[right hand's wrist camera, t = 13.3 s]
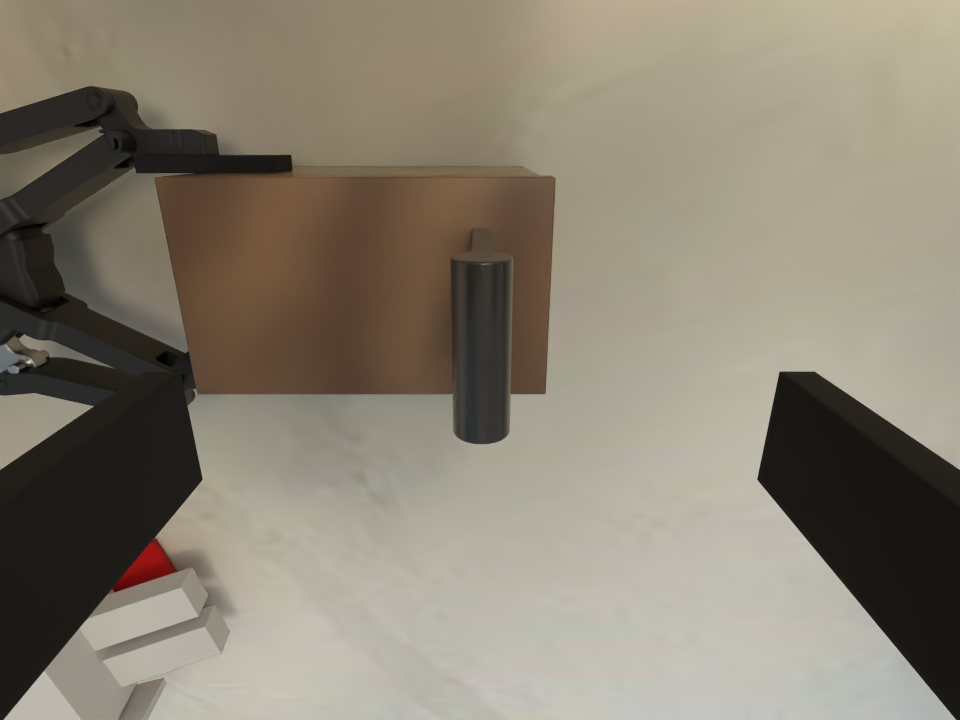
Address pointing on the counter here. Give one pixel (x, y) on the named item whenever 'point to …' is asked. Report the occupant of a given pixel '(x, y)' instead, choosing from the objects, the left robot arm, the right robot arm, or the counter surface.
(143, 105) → the counter surface
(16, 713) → the toy
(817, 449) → the right robot arm
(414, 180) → the lid
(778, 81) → the counter surface
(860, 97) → the counter surface
